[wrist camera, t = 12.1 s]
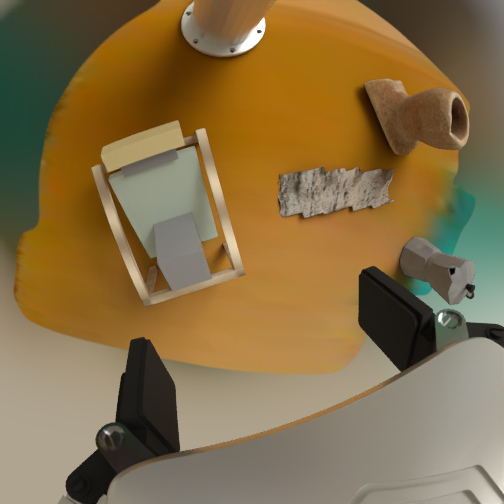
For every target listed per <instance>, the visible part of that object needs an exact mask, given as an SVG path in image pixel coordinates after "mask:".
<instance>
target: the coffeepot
mask: <svg viewBox="0 0 504 504" xmlns="http://www.w3.org/2000/svg"><path fill="white" fill-rule="evenodd" d="M400 267H401V270H402V271H403V274H404V275H407V276H410V277H413V278H416V279H418V280H421V281H424V282H429V283H430V286H431V287H432V288H433V289H434V290H435V291H436V292H437V293H438V294H439V295H440V296H441V297H442V298H443V299H445V301H446V302H447V303H448V304H449V305H454V304H459V303H460V302H461V301H462V299H463V298H464V297H465V296H466V297H467V298H469V299H472V298H473V297H474V292H473V291H474V289H475V286H474V285H472V282H473V279H474V276H475V270H474V262H473V261H469V260H466V259H463V258H459V257H456V256H453V255H449V254H444V253H441V251H440V250H439V249H437V248H436V247H435V246H434V245H432V244H431V243H430V242H428V241H427V240H426V239H424V238H420V237H414V238H412V239H411V240H410V241H408V243H407V244H406V245H405V247H404V248H403V250H402V253H401V257H400Z"/></svg>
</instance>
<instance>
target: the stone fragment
mask: <svg viewBox="0 0 504 504" xmlns="http://www.w3.org/2000/svg"><path fill="white" fill-rule="evenodd" d="M393 171H394V169H391V170H387V171H382V169H376V170H373V171H367V172H364V173H361V172H360V168H359V167H356V168H355V169H353V170H350V171H345V168H342V169H336V170H333V171H329V172H325V168H324V167H320V168H317V169H313V170H308V171H302V172H296V173H290V174H285V175H280V176H279V177H280V182H279V183H278V184H280V190H279V195H278V199H279V201H280V203H281V210H280V213H281V215H282V216H283V217H287V216H290V215H294V214H298V213H301V212H302V213H303V216H304V217H305V218H307V217H310V216H314V215H317V214H320V213H324V214H328V213H331V212H335V211H338V210H341V209H343V208H347V207H350V206H352V208H353V211H356V210H359V209H362V208H365V207H369V206H373V208H376V207H379V206H382V205H383V204H386V203H390V202H393V201H394V199H392V200H389V198H388V186H389V184H390V182H391V180H392V177H393V173H392V172H393Z"/></svg>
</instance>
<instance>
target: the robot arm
mask: <svg viewBox="0 0 504 504" xmlns="http://www.w3.org/2000/svg"><path fill="white" fill-rule="evenodd" d="M275 1H276V0H194V1H193V2H192V3H191V4H190V5H189V6H188V7H187V9H186V10H185V11H184V14H183V16H182V21H181V30H182V34H183V36H184V38H185V40H186V41H187V42H188V43H189V45H190V46H192V47H193V48H194V49H196V50H197V51H199V52H201V53H203V54H206V55H209V56H215V57H233V56H237V55H241V54H243V53H246V52H248V51H249V50H251V49H252V48H254V47H255V46H256V45H257V44H258V43H259V41H260V40H261V38H262V37H263V35H264V32H265V19H264V16H265V15H266V13H267V12H268V11H269V9H270V8H271V7H272V5H273V4H274V2H275ZM187 15H190V16H187ZM258 33H259V34H258ZM195 42H197V44H195ZM230 51H233V53H231V52H230ZM358 322H359V325H360V327H361V328H362V329H363V330H364V331H365V333H366V334H367V335H368V336H369V337H370V338H371V339H372V340H373V341H374V342H375V344H376V345H377V346H378V347H379V348H380V349H381V350H382V351H383V352H384V354H385V355H386V356H387V357H388V358H389V359H390V360H391V361H392V362H393V364H394V365H395V366H396V367H397V368H398V369H399V370H400V371H401V373H399V374H397V375H395V376H393V377H392V378H390V379H388V380H386V381H384V382H383V383H381V384H379V385H377V386H375V387H373V388H371V389H369V390H367V391H365V392H363V393H361V394H359V395H357V396H354V397H353V398H350V399H348V400H346V401H344V402H341V403H339V404H337V405H334V406H332V407H330V408H327V409H325V410H323V411H320V412H318V413H315V414H313V415H310V416H308V417H305V418H302V419H300V420H297V421H294V422H291V423H288V424H285V425H282V426H279V427H277V428H273V429H270V430H267V431H264V432H260V433H257V434H254V435H251V436H247V437H243V438H239V439H236V440H231V441H227V442H223V443H219V444H215V445H210V446H206V447H201V448H196V449H192V450H186V451H181V452H179V451H180V443H179V432H178V420H177V409H176V408H177V407H176V389H175V384H174V382H173V380H172V378H171V376H170V375H169V373H168V371H167V370H166V368H165V366H164V364H163V362H162V361H161V359H160V357H159V355H158V354H157V352H156V350H155V348H154V346H153V344H152V343H151V341H150V340H149V339H148V340H146V339H145V338H144V337H141V338H137V339H133V340H131V342H130V347H129V353H128V359H127V365H126V372H125V373H123V374H122V376H121V381H120V388H119V395H118V403H117V412H116V420H115V421H116V422H114V423H113V422H112V423H109V424H106V425H104V426H103V427H102V428H101V429H100V430H99V431H98V433H97V435H96V439H95V440H96V446H97V448H98V449H97V450H96V451H95V452H94V453H93V454H92V455H91V456H90V457H88V458H87V459H86V460H85V461H84V462H83V463H82V464H81V465H80V466H79V467H77V469H76V470H74V471H73V472H72V473H71V474H70V475H69V476H68V478H67V480H66V491H67V493H68V494H67V496H66V497H65V496H62V498H61V499H60V501H59V503H58V504H504V327H503V326H501V325H498V324H488V323H487V324H486V323H471V322H466V320H465V318H464V316H463V315H462V314H461V313H460V312H458V311H456V310H454V309H443V310H440V311H439V312H437V314H436V315H435V314H434V313H433V309H432V308H430V307H429V306H428V305H426V304H425V303H424V302H422V301H421V300H420V299H418V298H417V297H416V296H415V295H413V294H412V293H411V292H409V291H408V290H407V289H405V288H404V287H403V286H401V285H400V284H399V283H397V282H396V281H395V280H393V279H392V278H390V277H389V276H388V275H386V274H385V273H384V272H382V271H381V270H379V269H378V268H377V267H375V266H371V267H369V268H366V269H363V270H362V272H361V274H360V275H359V316H358Z"/></svg>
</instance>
